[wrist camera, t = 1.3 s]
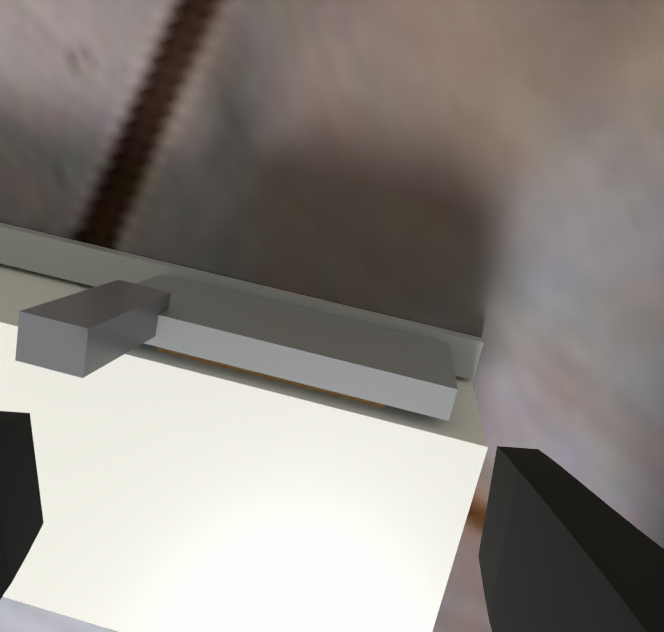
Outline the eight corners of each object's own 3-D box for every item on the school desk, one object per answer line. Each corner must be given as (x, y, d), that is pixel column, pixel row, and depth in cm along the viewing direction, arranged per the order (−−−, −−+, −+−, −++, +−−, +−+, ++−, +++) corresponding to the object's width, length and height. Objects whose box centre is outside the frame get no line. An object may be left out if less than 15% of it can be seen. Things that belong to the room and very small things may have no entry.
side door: (453, 329, 17) (475, 427, 10) (442, 369, 18) (457, 489, 11) (164, 260, 18) (4, 307, 11) (158, 299, 18) (0, 369, 12)
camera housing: (481, 337, 18) (504, 393, 13) (409, 592, 20) (405, 718, 16) (-106, 196, 20) (-273, 201, 15) (-113, 444, 22) (-260, 517, 17)
